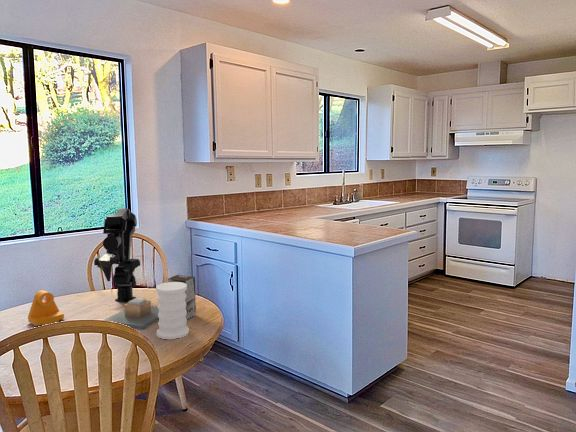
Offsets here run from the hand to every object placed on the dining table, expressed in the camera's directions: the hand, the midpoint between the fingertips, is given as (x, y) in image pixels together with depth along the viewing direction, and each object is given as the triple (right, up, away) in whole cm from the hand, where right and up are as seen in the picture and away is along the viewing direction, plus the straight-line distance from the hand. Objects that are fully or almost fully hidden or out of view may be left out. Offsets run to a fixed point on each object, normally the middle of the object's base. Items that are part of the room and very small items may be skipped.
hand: (118, 282), depth 186 cm
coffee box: (+28, -13, -5) cm, 32 cm away
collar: (+11, -12, -7) cm, 18 cm away
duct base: (+11, -13, -7) cm, 18 cm away
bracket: (-23, -14, -12) cm, 30 cm away
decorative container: (+29, -16, -23) cm, 40 cm away
